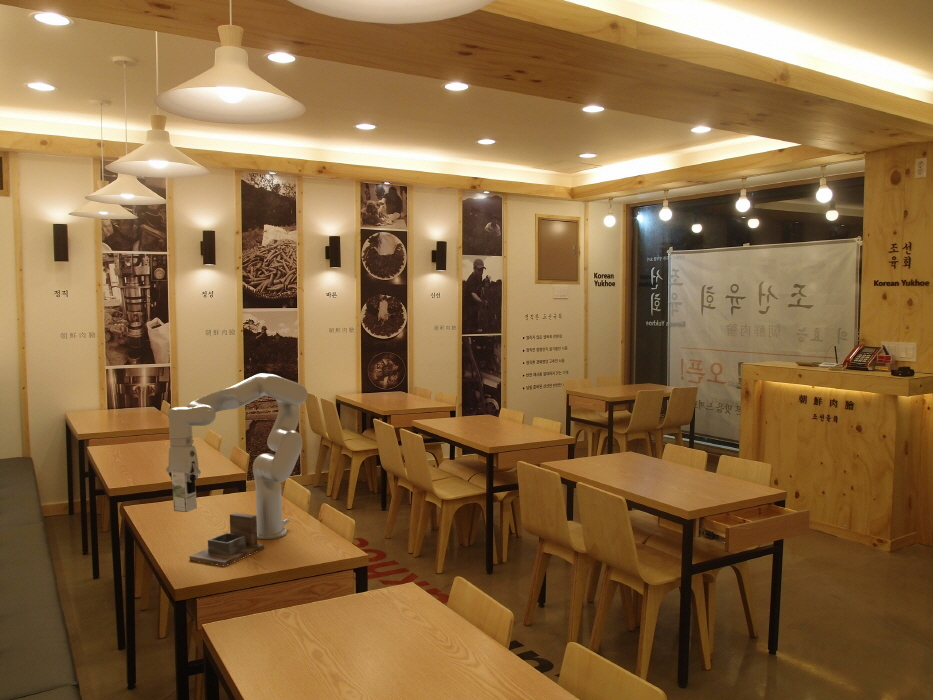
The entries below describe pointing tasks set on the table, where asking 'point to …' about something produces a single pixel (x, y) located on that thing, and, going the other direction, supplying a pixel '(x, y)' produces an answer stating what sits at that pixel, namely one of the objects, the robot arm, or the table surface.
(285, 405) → the robot arm
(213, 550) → the post bracket stand
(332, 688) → the table surface
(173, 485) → the syrup box
